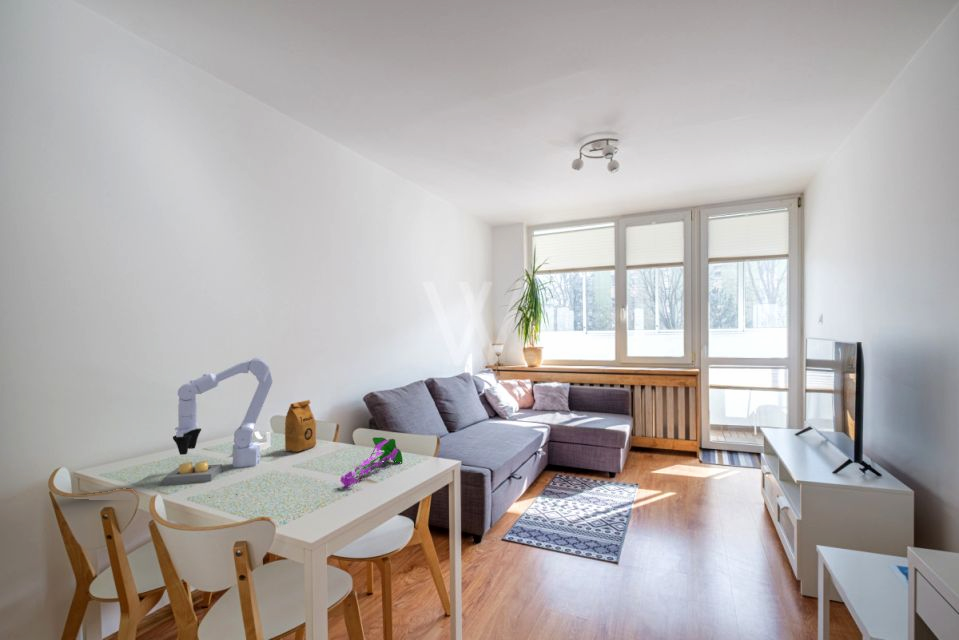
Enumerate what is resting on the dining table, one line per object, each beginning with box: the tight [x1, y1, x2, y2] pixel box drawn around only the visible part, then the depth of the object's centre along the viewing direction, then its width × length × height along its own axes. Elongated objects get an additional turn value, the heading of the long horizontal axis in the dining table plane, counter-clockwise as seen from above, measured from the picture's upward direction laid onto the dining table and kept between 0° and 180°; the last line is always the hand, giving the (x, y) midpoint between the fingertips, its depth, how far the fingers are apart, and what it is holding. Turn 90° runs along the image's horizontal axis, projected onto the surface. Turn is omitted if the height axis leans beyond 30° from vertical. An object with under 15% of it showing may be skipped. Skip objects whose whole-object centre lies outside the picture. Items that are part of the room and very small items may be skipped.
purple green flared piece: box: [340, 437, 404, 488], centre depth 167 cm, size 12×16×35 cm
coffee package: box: [284, 399, 317, 453], centre depth 198 cm, size 10×12×22 cm
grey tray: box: [162, 463, 223, 486], centre depth 158 cm, size 15×11×4 cm
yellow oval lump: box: [178, 461, 193, 474], centre depth 158 cm, size 4×4×5 cm
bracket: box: [252, 430, 271, 452], centre depth 195 cm, size 13×7×8 cm, turn 168°
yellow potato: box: [194, 461, 209, 473], centre depth 159 cm, size 4×4×5 cm
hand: (187, 451), depth 164 cm, fingers open, 7 cm apart
